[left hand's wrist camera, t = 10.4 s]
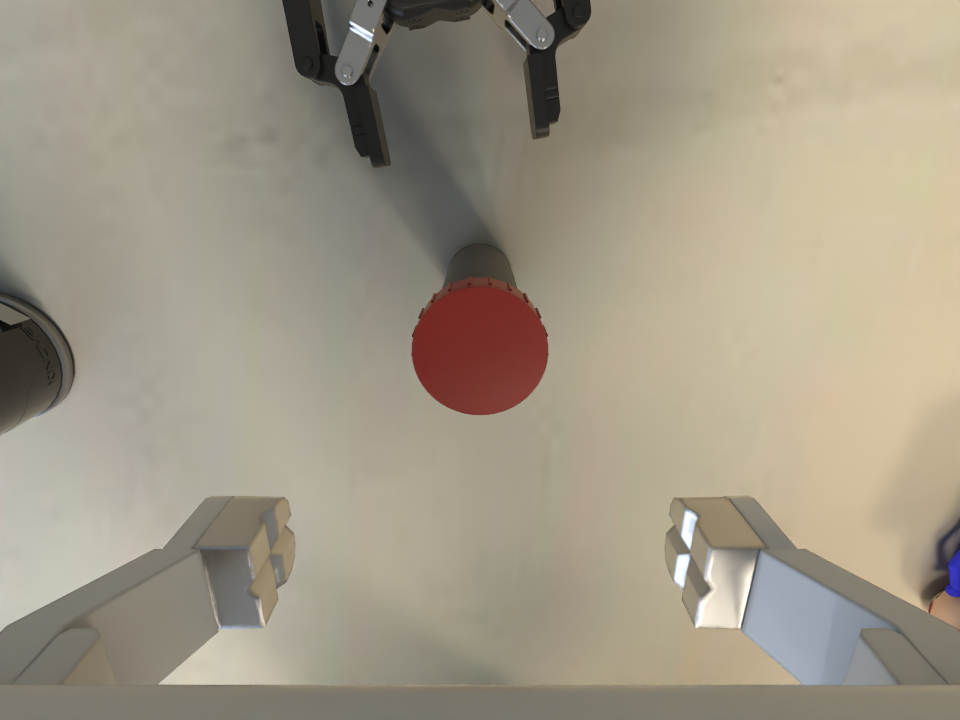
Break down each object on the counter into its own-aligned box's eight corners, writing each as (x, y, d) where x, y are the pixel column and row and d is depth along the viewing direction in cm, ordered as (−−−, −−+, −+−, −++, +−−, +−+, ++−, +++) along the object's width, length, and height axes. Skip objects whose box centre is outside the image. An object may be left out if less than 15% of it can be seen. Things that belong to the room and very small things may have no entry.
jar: (491, 231, 34) (500, 276, 20) (523, 287, 35) (553, 368, 21) (435, 264, 35) (404, 331, 20) (468, 318, 36) (461, 416, 22)
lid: (505, 250, 21) (507, 257, 19) (567, 361, 22) (574, 377, 20) (390, 316, 22) (382, 329, 20) (458, 418, 23) (456, 438, 21)
